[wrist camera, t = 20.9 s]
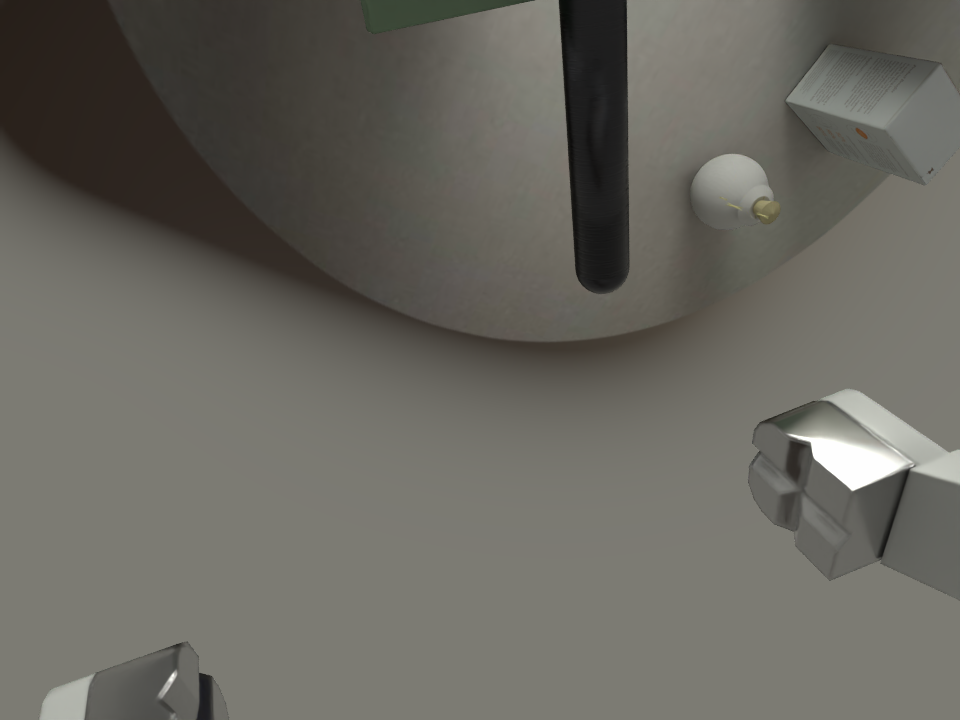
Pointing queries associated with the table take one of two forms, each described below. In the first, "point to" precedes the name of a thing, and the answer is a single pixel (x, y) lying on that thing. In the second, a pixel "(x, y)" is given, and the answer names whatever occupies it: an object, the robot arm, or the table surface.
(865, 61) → the small box
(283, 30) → the table surface
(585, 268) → the door
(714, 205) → the ornament
